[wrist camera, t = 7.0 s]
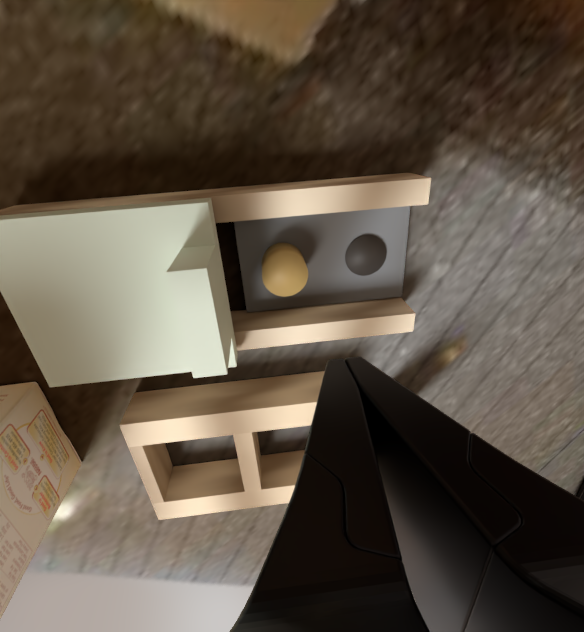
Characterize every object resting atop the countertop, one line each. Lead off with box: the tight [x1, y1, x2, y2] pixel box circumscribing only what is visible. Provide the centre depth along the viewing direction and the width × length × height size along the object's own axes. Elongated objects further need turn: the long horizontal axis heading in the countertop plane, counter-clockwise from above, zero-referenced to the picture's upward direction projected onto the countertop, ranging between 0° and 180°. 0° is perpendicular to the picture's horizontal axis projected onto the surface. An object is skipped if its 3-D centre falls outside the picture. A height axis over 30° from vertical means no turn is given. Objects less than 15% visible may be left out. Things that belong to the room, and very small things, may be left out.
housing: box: [0, 173, 431, 350], centre depth 16 cm, size 17×7×2 cm, turn 94°
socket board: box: [119, 371, 325, 520], centre depth 21 cm, size 12×8×2 cm, turn 94°
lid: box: [0, 198, 238, 387], centre depth 13 cm, size 8×7×4 cm
